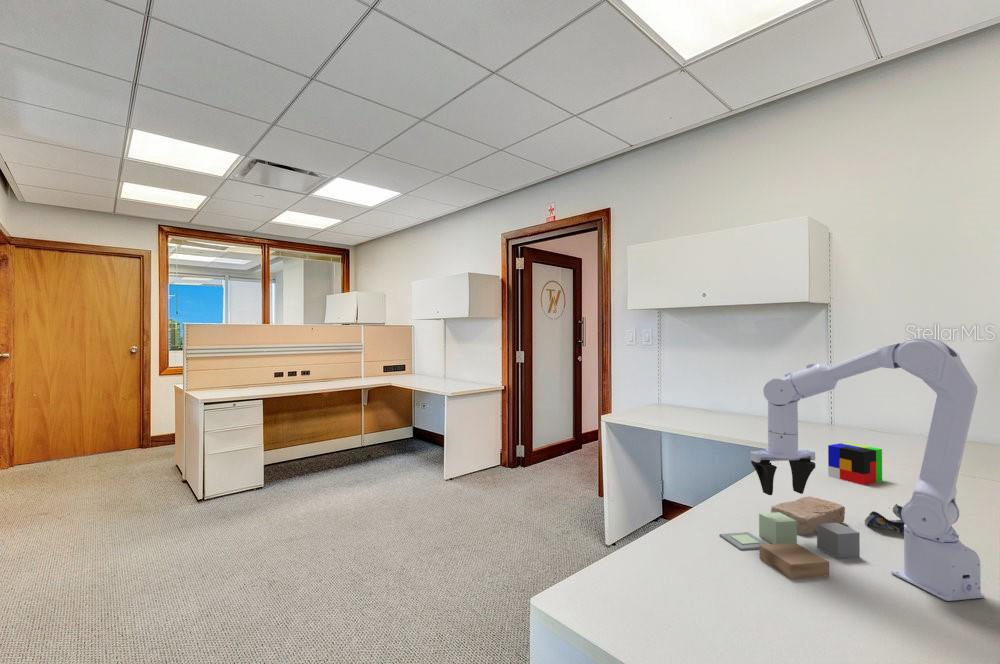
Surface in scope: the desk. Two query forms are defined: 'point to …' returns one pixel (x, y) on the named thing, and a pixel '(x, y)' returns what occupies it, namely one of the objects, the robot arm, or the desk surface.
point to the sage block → (777, 528)
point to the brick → (811, 513)
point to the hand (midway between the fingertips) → (782, 493)
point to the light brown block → (794, 560)
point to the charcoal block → (838, 540)
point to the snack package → (882, 522)
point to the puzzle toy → (855, 463)
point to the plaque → (743, 540)
